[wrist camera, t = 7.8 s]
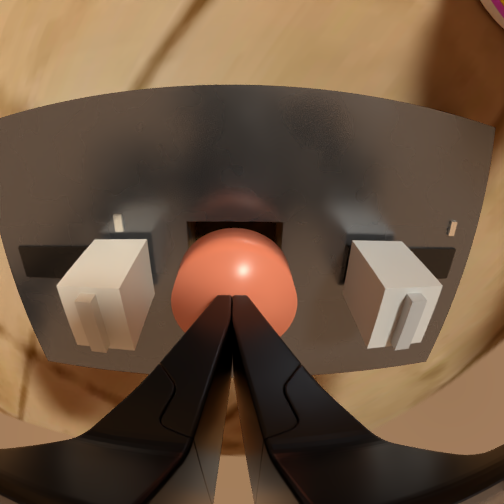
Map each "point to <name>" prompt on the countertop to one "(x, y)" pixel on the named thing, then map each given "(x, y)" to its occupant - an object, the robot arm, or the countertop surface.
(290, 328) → the panel
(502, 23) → the supplement bottle
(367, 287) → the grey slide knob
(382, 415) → the countertop surface
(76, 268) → the ivory slide knob
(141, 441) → the robot arm
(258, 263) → the red push button
